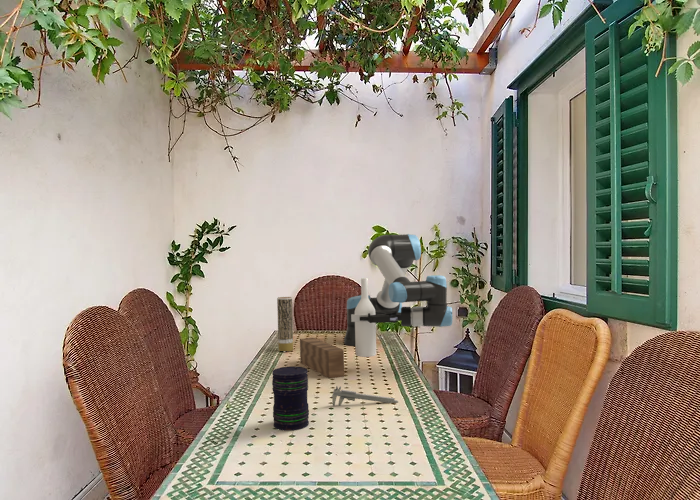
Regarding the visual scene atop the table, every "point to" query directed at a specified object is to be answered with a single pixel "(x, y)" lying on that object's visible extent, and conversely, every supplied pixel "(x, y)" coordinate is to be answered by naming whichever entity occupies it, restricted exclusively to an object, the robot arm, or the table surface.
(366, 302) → the bottle
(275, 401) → the storage jar
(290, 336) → the paper tube
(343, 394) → the caliper
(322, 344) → the wooden block
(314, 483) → the table surface
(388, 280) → the robot arm
